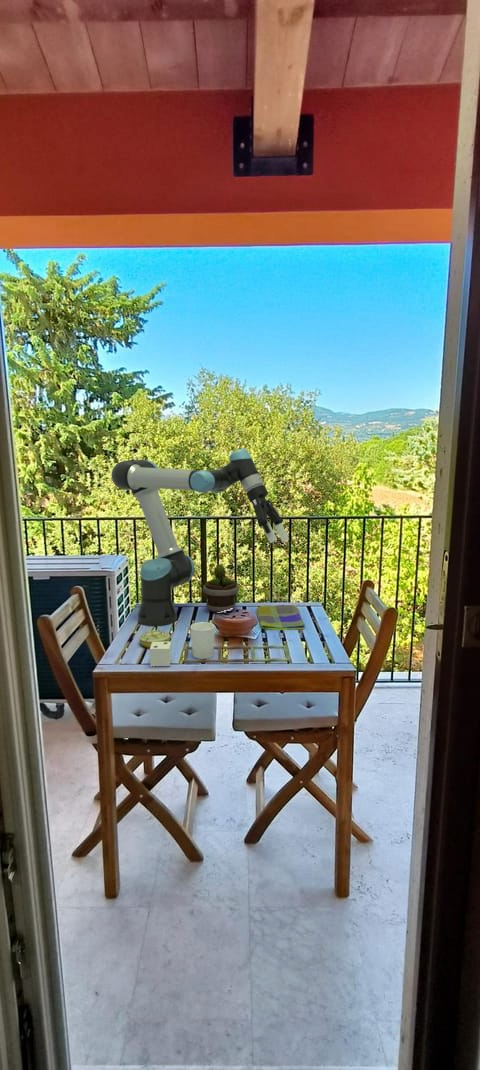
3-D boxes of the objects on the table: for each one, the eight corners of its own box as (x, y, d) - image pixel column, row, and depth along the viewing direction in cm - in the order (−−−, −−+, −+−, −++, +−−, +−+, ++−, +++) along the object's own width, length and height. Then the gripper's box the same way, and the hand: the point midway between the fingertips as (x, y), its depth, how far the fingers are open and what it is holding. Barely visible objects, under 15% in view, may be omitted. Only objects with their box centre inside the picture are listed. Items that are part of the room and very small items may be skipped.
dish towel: (258, 631, 200) (258, 624, 199) (256, 610, 224) (256, 604, 223) (305, 631, 200) (305, 624, 199) (298, 610, 224) (298, 604, 223)
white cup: (205, 661, 171) (205, 632, 169) (186, 656, 175) (185, 627, 173) (219, 653, 177) (219, 624, 176) (200, 648, 181) (200, 620, 180)
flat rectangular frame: (183, 662, 170) (183, 661, 170) (185, 648, 182) (185, 646, 182) (290, 661, 171) (290, 659, 171) (285, 647, 183) (285, 645, 183)
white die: (150, 667, 167) (149, 648, 166) (152, 659, 173) (152, 641, 171) (169, 667, 167) (169, 648, 166) (171, 659, 173) (171, 641, 172)
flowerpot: (240, 615, 216) (240, 567, 212) (202, 616, 215) (201, 567, 211) (238, 604, 230) (238, 559, 227) (202, 605, 229) (201, 559, 226)
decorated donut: (166, 636, 193) (165, 626, 192) (173, 647, 183) (173, 636, 183) (137, 640, 189) (136, 630, 189) (142, 651, 180) (142, 640, 179)
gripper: (251, 481, 184) (277, 537, 181) (274, 486, 207) (298, 535, 204) (233, 491, 186) (258, 546, 183) (258, 495, 209) (281, 544, 206)
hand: (279, 540), depth 193 cm, fingers open, 13 cm apart
